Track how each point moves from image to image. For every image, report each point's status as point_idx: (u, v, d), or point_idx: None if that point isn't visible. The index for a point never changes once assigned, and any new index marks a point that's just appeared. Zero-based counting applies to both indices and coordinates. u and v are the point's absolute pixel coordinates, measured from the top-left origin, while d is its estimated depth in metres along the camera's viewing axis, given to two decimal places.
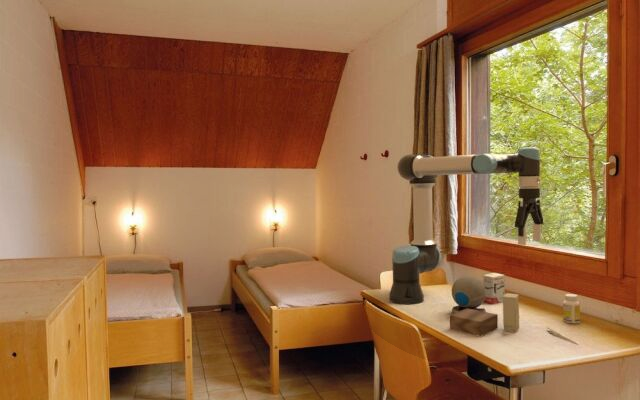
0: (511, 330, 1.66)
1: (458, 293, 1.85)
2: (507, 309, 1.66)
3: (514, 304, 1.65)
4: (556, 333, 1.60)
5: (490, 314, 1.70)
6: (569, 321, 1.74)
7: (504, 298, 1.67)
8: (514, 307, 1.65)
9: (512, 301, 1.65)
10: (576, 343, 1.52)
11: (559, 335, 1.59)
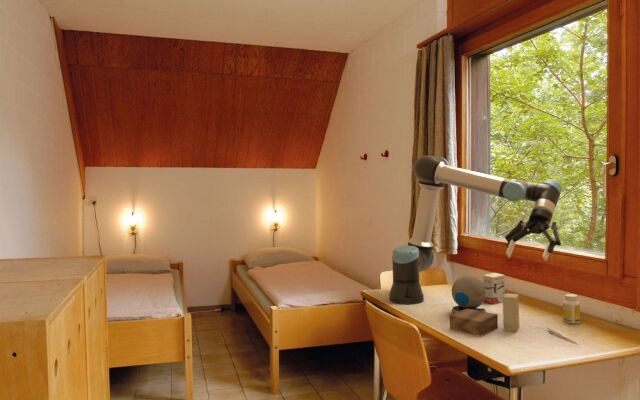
0: (511, 330, 1.66)
1: (458, 293, 1.85)
2: (507, 309, 1.66)
3: (514, 304, 1.65)
4: (556, 333, 1.60)
5: (490, 314, 1.70)
6: (569, 321, 1.74)
7: (504, 298, 1.67)
8: (514, 307, 1.65)
9: (512, 301, 1.65)
10: (576, 343, 1.53)
11: (559, 335, 1.59)
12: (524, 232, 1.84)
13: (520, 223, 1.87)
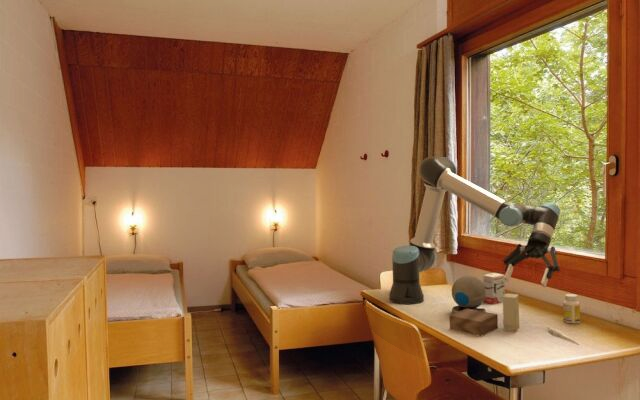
0: (511, 330, 1.66)
1: (458, 293, 1.85)
2: (507, 309, 1.66)
3: (514, 304, 1.65)
4: (556, 333, 1.60)
5: (490, 314, 1.70)
6: (569, 321, 1.74)
7: (504, 298, 1.67)
8: (514, 307, 1.65)
9: (512, 301, 1.65)
10: (577, 343, 1.53)
11: (559, 335, 1.59)
12: (522, 256, 1.82)
13: (518, 247, 1.85)
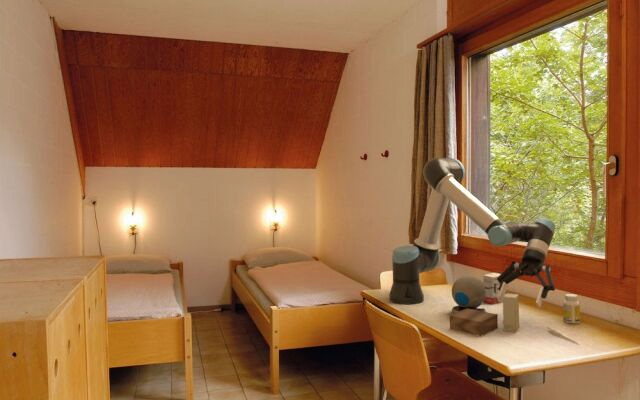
0: (511, 330, 1.66)
1: (458, 293, 1.85)
2: (507, 309, 1.66)
3: (514, 304, 1.65)
4: (557, 333, 1.60)
5: (490, 314, 1.70)
6: (569, 321, 1.74)
7: (504, 298, 1.67)
8: (514, 307, 1.65)
9: (512, 301, 1.65)
10: (577, 343, 1.53)
11: (560, 335, 1.59)
12: (517, 274, 1.77)
13: (512, 264, 1.80)
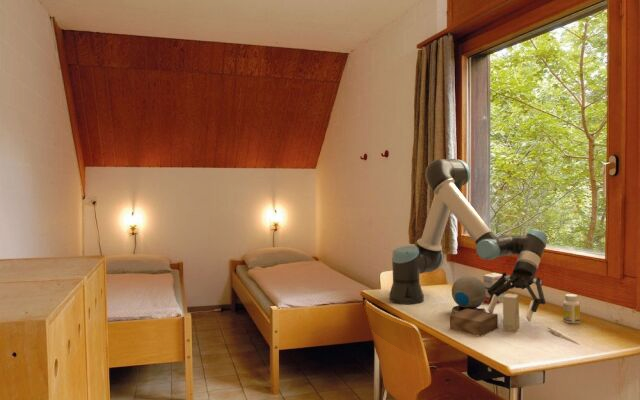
0: (511, 330, 1.66)
1: (458, 293, 1.85)
2: (507, 309, 1.66)
3: (514, 304, 1.65)
4: (557, 333, 1.60)
5: (490, 314, 1.70)
6: (569, 321, 1.74)
7: (504, 298, 1.67)
8: (514, 307, 1.65)
9: (512, 301, 1.65)
10: (577, 343, 1.53)
11: (560, 335, 1.59)
12: (507, 286, 1.74)
13: (503, 276, 1.77)
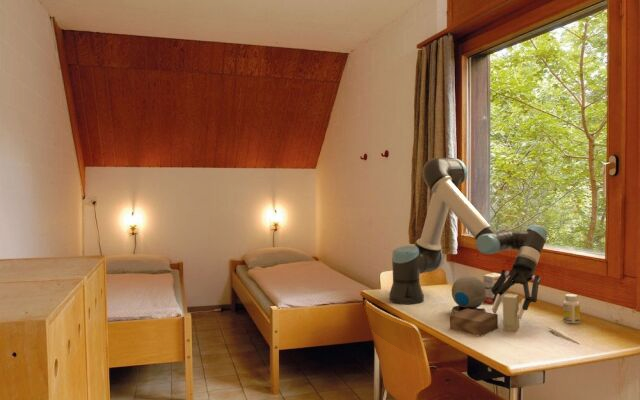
0: (511, 330, 1.66)
1: (458, 293, 1.85)
2: (507, 309, 1.66)
3: (514, 304, 1.65)
4: (558, 333, 1.60)
5: (490, 314, 1.70)
6: (569, 321, 1.74)
7: (504, 298, 1.67)
8: (514, 307, 1.65)
9: (512, 301, 1.65)
10: (578, 343, 1.53)
11: (561, 335, 1.59)
12: (509, 283, 1.74)
13: (503, 273, 1.77)
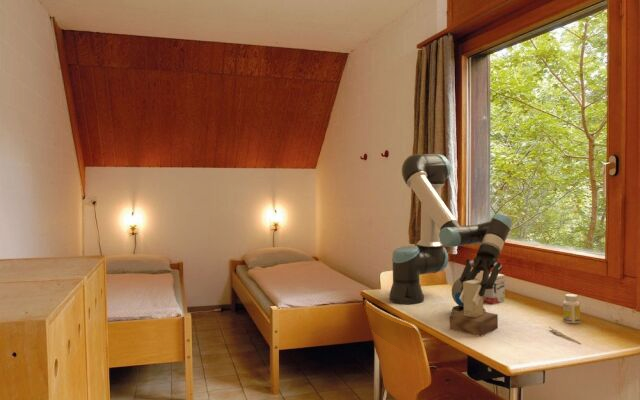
0: (470, 315, 1.67)
1: (458, 293, 1.85)
2: (466, 294, 1.68)
3: (472, 290, 1.66)
4: (558, 332, 1.61)
5: (490, 314, 1.70)
6: (569, 321, 1.74)
7: (464, 283, 1.69)
8: (472, 293, 1.66)
9: (470, 286, 1.67)
10: (579, 342, 1.53)
11: (562, 334, 1.60)
12: (475, 271, 1.74)
13: (468, 262, 1.78)
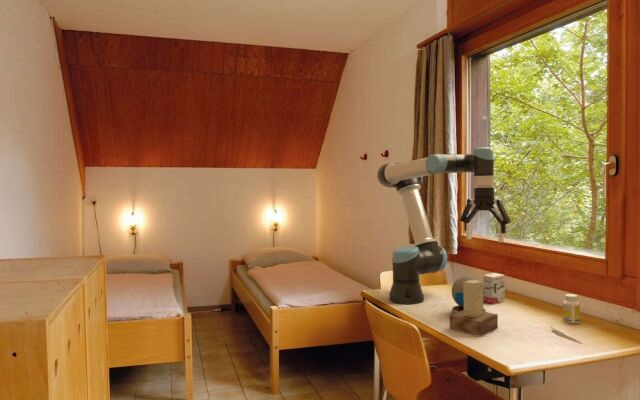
0: (470, 315, 1.67)
1: (458, 293, 1.85)
2: (466, 294, 1.68)
3: (473, 290, 1.66)
4: (560, 332, 1.61)
5: (490, 314, 1.70)
6: (569, 321, 1.74)
7: (464, 283, 1.68)
8: (473, 293, 1.66)
9: (471, 287, 1.67)
10: (580, 342, 1.53)
11: (563, 334, 1.60)
12: (475, 212, 1.91)
13: (468, 202, 1.92)
